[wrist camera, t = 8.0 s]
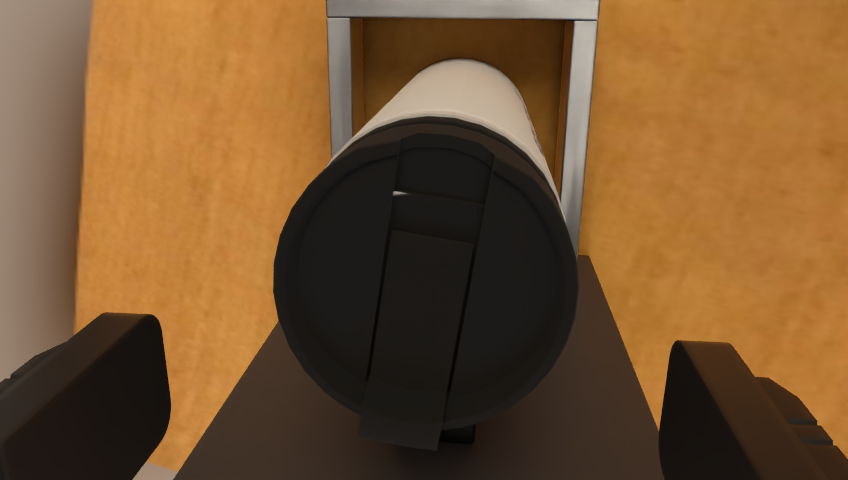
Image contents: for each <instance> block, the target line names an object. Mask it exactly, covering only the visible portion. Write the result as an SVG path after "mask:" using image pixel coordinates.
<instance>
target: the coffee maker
mask: <svg viewBox="0 0 848 480" xmlns="http://www.w3.org/2000/svg"><path fill="white" fill-rule="evenodd" d="M577 270H578V282H579V292H578V300H577V309H576V317H575V320H574V323H573V326H572V329H571V332H570V335H569V338H568V341H567V344H566V346H565V347H564V349H563V351H562V353H561V354H560V356H559V358H558V360H557V361H556V363H555V365H554V366H553V368H552V370H551V371H550V372H549V373H548V374H547V375H546V376H545V378H544V379H543V380H542V381H541V382H540V383H539V384H538V385H537V387H536V388H535V389H534V390H533V391H532V392H530V393H529V394H528V395H527V396H525V397H524V398H523V399H521V400H520V401H519V402H517V403H516V404H515V405H513V406H512V407H511V408H509V409H507V410H505V411H503V412H501V413H499V414H497V415H495V416H493V417H491V418H489V419H487V420H485V421H483V422H479V423H476V427H475V441H474V443H457V442H441V441H439V444H438V449H437V451H434V450H426V449H419V448H412V447H406V446H400V445H394V444H390V443H385V442H380V441H375V440H372V439H368V438H363V437H358V432H359V425H360V418H361V415H359V414H357V413H355V412H353V411H351V410H350V409H348V408H346V407H344V406H343V405H341V404H340V403H339V402H337V401H336V400H334V399H333V398H332V397H330V396H329V395H328V394H326V393H325V392H324V391H323V390H322V389H321V388H320V387H319V386H318V385H317V384H316V383H315V382H314V381H313V379H312V378H311V377H310V376H309V375H308V374H307V373H306V372H305V371H304V369H303V368H302V366H301V365H300V363H299V361H298V360H297V358H296V357H295V355H294V354H293V352H292V350H291V349H290V347H289V345H288V343H287V340H286V338H285V335H284V332H283V330H282V327H281V325H280V322H279V321H278V323H277V324H276V326H275V327H274V329H273V330H272V332H271V333H270V335H269V336H268V338H267V339H266V341H265V342H264V344H263V345H262V347H261V348H260V350H259V351H258V353H257V354H256V356H255V357H254V359H253V360H252V362H251V363H250V365H249V366H248V368H247V369H246V371H245V372H244V374H243V375H242V377H241V378H240V380H239V382H238V383H237V385H236V386H235V388H234V389H233V391H232V392H231V394H230V395H229V397H228V398H227V400H226V401H225V403H224V404H223V406H222V407H221V409H220V410H219V412H218V413H217V415H216V416H215V418H214V419H213V421H212V422H211V424H210V425H209V427H208V428H207V430H206V431H205V433H204V434H203V436H202V437H201V439H200V440H199V442H198V443H197V445H196V446H195V448H194V449H193V451H192V452H191V454H190V455H189V457H188V458H187V460H186V461H185V463H184V464H183V466H182V467H181V469H180V470H179V472H178V473H177V475H176V476H175V478H174V479H173V480H665V478H664V476H663V473H662V469H661V464H660V457H659V431H658V428H657V426H656V423H655V421H654V418H653V416H652V413H651V411H650V408H649V406H648V403H647V401H646V398H645V396H644V393H643V391H642V388H641V386H640V383H639V381H638V378H637V376H636V373H635V371H634V368H633V366H632V363H631V361H630V358H629V356H628V353H627V351H626V348H625V345H624V343H623V340H622V338H621V335H620V333H619V330H618V328H617V325H616V323H615V320H614V318H613V315H612V313H611V310H610V308H609V305H608V303H607V300H606V298H605V295H604V293H603V290H602V288H601V285H600V283H599V280H598V278H597V275H596V273H595V270H594V268H593V265H592V263H591V260H590V258H589V256H578V258H577Z"/></svg>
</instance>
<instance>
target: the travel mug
mask: <svg viewBox="0 0 848 480" xmlns="http://www.w3.org/2000/svg"><path fill="white" fill-rule="evenodd" d="M578 292H579V282H578V270H577V259H576V255H575V252H574V248H573V245H572V242H571V238H570V235H569V232H568V229H567V226H566V219H565V216H564V212H563V209H562V206H561V202H560V199H559V196H558V193H557V190H556V188H555V185H554V182H553V179H552V176H551V174H550V171H549V168H548V165H547V163H546V160H545V157H544V154H543V152H542V149H541V146H540V144H539V141H538V138H537V135H536V133H535V130H534V127H533V124H532V122H531V119H530V116H529V113H528V111H527V108H526V105H525V103H524V100H523V98H522V96H521V94H520V92H519V90H518V88H517V87H516V86H515V84H514V83H513V82H512V81H511V80H510V78H509V77H508V76H506V75H505V74H504V73H503V72H501V71H500V70H499V69H498V68H496V67H494V66H492V65H490V64H488V63H486V62H483V61H479V60H475V59H471V58H453V59H446V60H443V61H440V62H437V63H434V64H432V65H430V66H428V67H427V68H425V69H423V70H422V71H420V72H419V73H418V74H417V75H416V76H415V77H414V78H413V79H412V80H410V81H409V82H408V83H407V84H406V85H405V86H404V87H403V88H402V89H401V90H400V91H399V92H398V93H397V94H396V95H395V96H394V97H393V98H392V99H391V100H390V101H389V102H388V103H387V104H386V105H385V106H384V107H383V108H382V109H381V110H380V111H379V112H378V113H377V114H376V115H375V116H374V117H373V118H372V119H371V120H370V121H369V122H368V123H367V124H366V125H365V126H364V127H363V128H362V129H361V130H360V131H359V132H358V133H357V134H356V135H355V136H354V137H353V138H352V139H351V140H350V141H349V142H348V143H347V144H346V145H345V146H344V147H343V148H342V149H341V150H340V151H339V152H338V153H336V154H335V155H334V157H333V158H332V159H331V161H330V162H329V164H328V165H327V166H326V168H325V169H324V170H323V171H322V172H321V173H320V174H319V175H318V176H317V177H316V178H315V179H314V180H313V181H312V182H311V183H310V184H309V185H308V187H307V188H306V190H305V191H304V192H303V194H302V195H301V197H300V198H299V199H298V201H297V202H296V203H295V205H294V206H293V208H292V209H291V212H290V214H289V216H288V218H287V221H286V223H285V225H284V227H283V230H282V232H281V234H280V237H279V242H278V246H277V251H276V256H275V260H274V284H273V293H274V298H275V304H276V309H277V314H278V320H279V322H280V325H281V327H282V330H283V332H284V335H285V338H286V340H287V343H288V345H289V347H290V349H291V350H292V352H293V354H294V355H295V357H296V358H297V360H298V361H299V363H300V365H301V366H302V368H303V369H304V371H305V372H306V373H307V374H308V375H309V376H310V377H311V378H312V379H313V381H314V382H315V383H316V384H317V385H318V386H319V387H320V388H321V389H322V390H323V391H324V392H325V393H326V394H328V395H329V396H330V397H332V398H333V399H334V400H336V401H337V402H339V403H340V404H341V405H343V406H344V407H346V408H348V409H350V410H351V411H353V412H355V413H357V414H359V415H361V418H360V425H359V432H358V437H363V438H368V439H372V440H375V441H380V442H385V443H390V444H394V445H400V446H406V447H412V448H419V449H426V450H434V451H437V449H438V444H439V438H440V433H441V430H447V429H453V428H461V427H465V426H468V425H472V424H476V423H479V422H483V421H485V420H487V419H489V418H491V417H493V416H495V415H497V414H499V413H501V412H503V411H505V410H507V409H509V408H511V407H512V406H513V405H515V404H516V403H517V402H519V401H520V400H521V399H523V398H524V397H525V396H527V395H528V394H529V393H530V392H532V391H533V390H534V389H535V388H536V387H537V385H538V384H539V383H540V382H541V381H542V380H543V379H544V378H545V376H546V375H547V374H548V373H549V372H550V371H551V370H552V368H553V366H554V365H555V363H556V361H557V360H558V358H559V356H560V354H561V353H562V351H563V349H564V347H565V346H566V344H567V341H568V338H569V335H570V332H571V329H572V326H573V323H574V320H575V317H576V309H577V300H578Z"/></svg>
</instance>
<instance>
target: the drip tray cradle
mask: <svg viewBox="0 0 848 480" xmlns="http://www.w3.org/2000/svg"><path fill="white" fill-rule="evenodd" d="M599 11H600V0H326V15H327V17H328V18H327V47H328V75H329V103H330V131H331V159H332V158H333V157H334V155H335V154H336V153H338V152H339V151H340V150H341V149H342V148H343V147H344V146H345V145H346V144H347V143H348V142H349V141H350V140H351V139H352V138H353V137H354V136H355V135H356V134H357V133H358V132H359V131H360V130H361V129H362V128H363V127H364V126H365V112H364V60H363V18H413V19H500V20H566V21H565V34H564V47H563V61H562V75H561V88H560V102H559V115H558V129H557V142H556V156H555V169H554V185H555V188H556V190H557V193H558V196H559V199H560V202H561V206H562V209H563V212H564V216H565V219H566V226H567V229H568V232H569V235H570V238H571V242H572V245H573V248H574V252H575V255H576V259H577V258H578V247H579V236H580V224H581V213H582V202H583V191H584V179H585V168H586V157H587V146H588V134H589V123H590V112H591V101H592V89H593V78H594V67H595V56H596V44H597V33H598V21H597V20H598V19H599ZM475 427H476V424H472V425H468V426H465V427H461V428H453V429H447V430H441V433H440V438H439V441H441V442H457V443H474V441H475Z"/></svg>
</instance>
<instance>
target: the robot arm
mask: <svg viewBox="0 0 848 480" xmlns="http://www.w3.org/2000/svg"><path fill="white" fill-rule="evenodd" d="M170 413H171V398H170V391H169V383H168V375H167V367H166V360H165V352H164V344H163V336H162V330H161V326H160V323H159V321H158V319H157V318H156V317H155V316H154V315H151V314H130V313H109V312H106V313H103V314H101V315H99V316H98V317H97V318H96V319H94V320H93V321H92V322H91V323H89V324H88V325H87V326H86V327H84V328H83V329H82V330H80V331H79V332H78V333H77V334H75V335H74V336H73V337H72V338H70V339H69V340H68V341H67V342H64V343H62V344H60V345H58V346H56V347H54V348H51V349H49V350H47V351H45V352H43V353H40V354H38V355H36V356H34V357H33V358H32V359H30V360H29V361H28V362H27V363H25V364H24V365H23V366H21V367H20V368H19V369H17V370H16V371H15V372H14V373H12V374H11V377H10V379H4V380H3V381H2V382H0V480H132V479H133V478H134V477H135V475H136V474H137V473H138V471H139V470H140V468H141V467H142V466H143V465H144V463H145V462H146V461H147V459H148V458H149V457H150V455H151V454H152V453H153V452H154V450H155V449H156V448H157V446H158V445H159V444H160V442H161V441H162V439H163V437H164V435H165V433H166V430H167V427H168V424H169V420H170ZM659 457H660V464H661V469H662V473H663V476H664V478H665V480H848V459H847V458H846V457H845V455H844V454H843V453H842V452H841V450H840V449H839V448H838V447H837V446H833V440H832V439H831V438H830V437H829V435H828V434H827V433H826V432H825V430H824V429H823V428H822V427H821V426H818V425H817V420H816V419H815V418H814V416H813V415H812V414H811V413H810V411H809V410H808V409H807V408H806V406H805V405H804V404H803V403H802V401H801V400H800V399H799V398H798V397H797V396H795V395H794V394H792V393H791V392H789V391H787V390H786V389H784V388H783V387H781V386H780V385H778V384H777V383H775V382H774V381H772V380H771V379H769V378H764V377H755V376H754V375H753V374H752V372H751V371H750V369H749V368H748V367H747V365H746V364H745V363H744V361H743V360H742V358H741V357H740V356H739V354H738V353H737V352H736V350H735V349H734V347H733V346H732V345H731V344H729V343H722V342H701V341H679V340H677V341H675V343H674V344H673V346H672V349H671V352H670V357H669V364H668V371H667V379H666V386H665V393H664V400H663V407H662V414H661V421H660V429H659Z"/></svg>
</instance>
